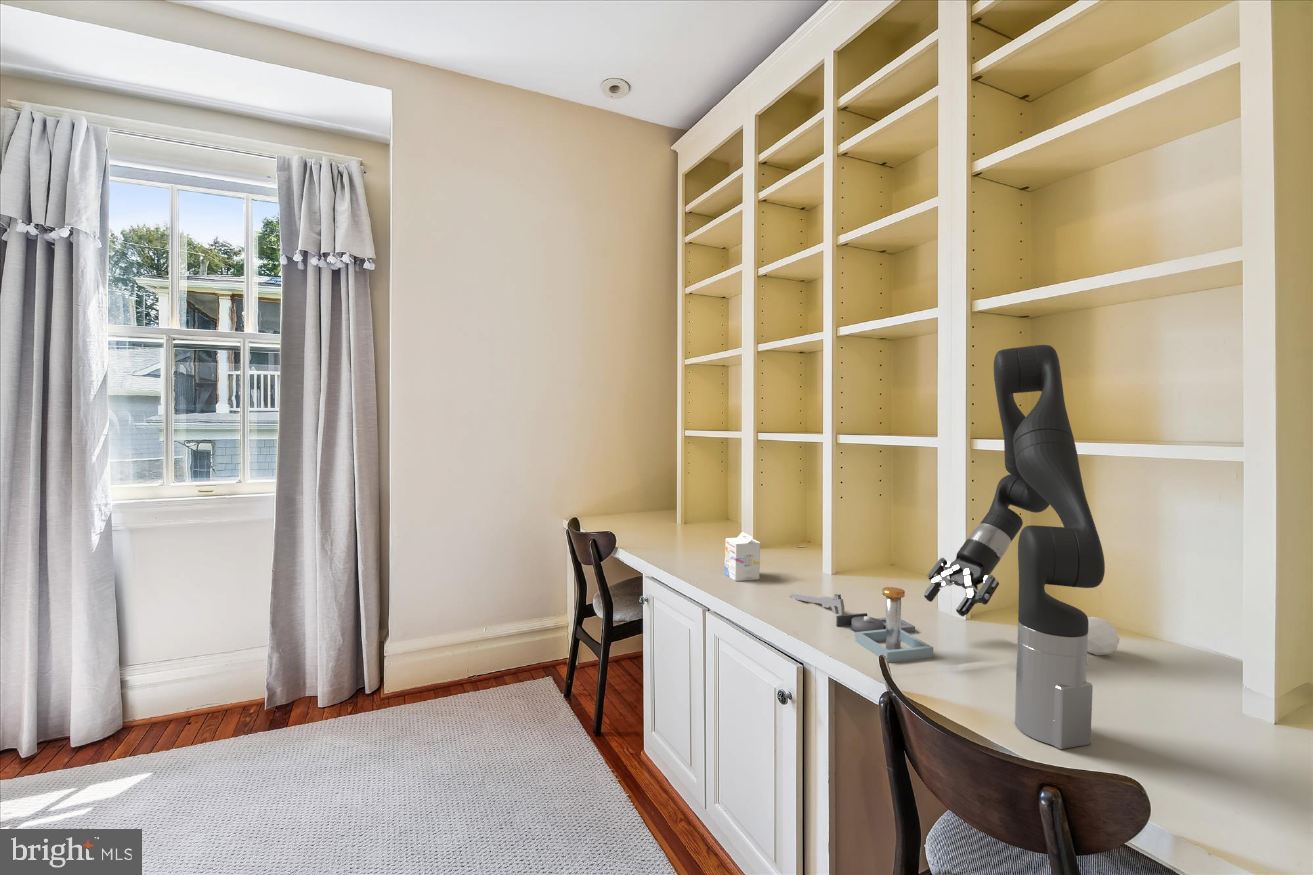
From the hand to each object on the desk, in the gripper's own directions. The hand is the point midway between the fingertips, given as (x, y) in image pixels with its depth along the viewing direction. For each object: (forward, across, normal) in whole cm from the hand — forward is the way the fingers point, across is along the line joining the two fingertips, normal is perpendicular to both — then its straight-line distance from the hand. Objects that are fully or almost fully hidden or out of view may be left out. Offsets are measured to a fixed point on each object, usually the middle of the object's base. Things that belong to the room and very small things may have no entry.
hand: (942, 606), depth 124 cm
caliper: (+15, -31, 0) cm, 35 cm away
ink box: (+19, -63, -2) cm, 66 cm away
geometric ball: (-14, +13, +28) cm, 34 cm away
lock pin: (+14, -1, -3) cm, 15 cm away
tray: (+15, -1, -2) cm, 15 cm away
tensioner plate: (+12, -11, +2) cm, 16 cm away
